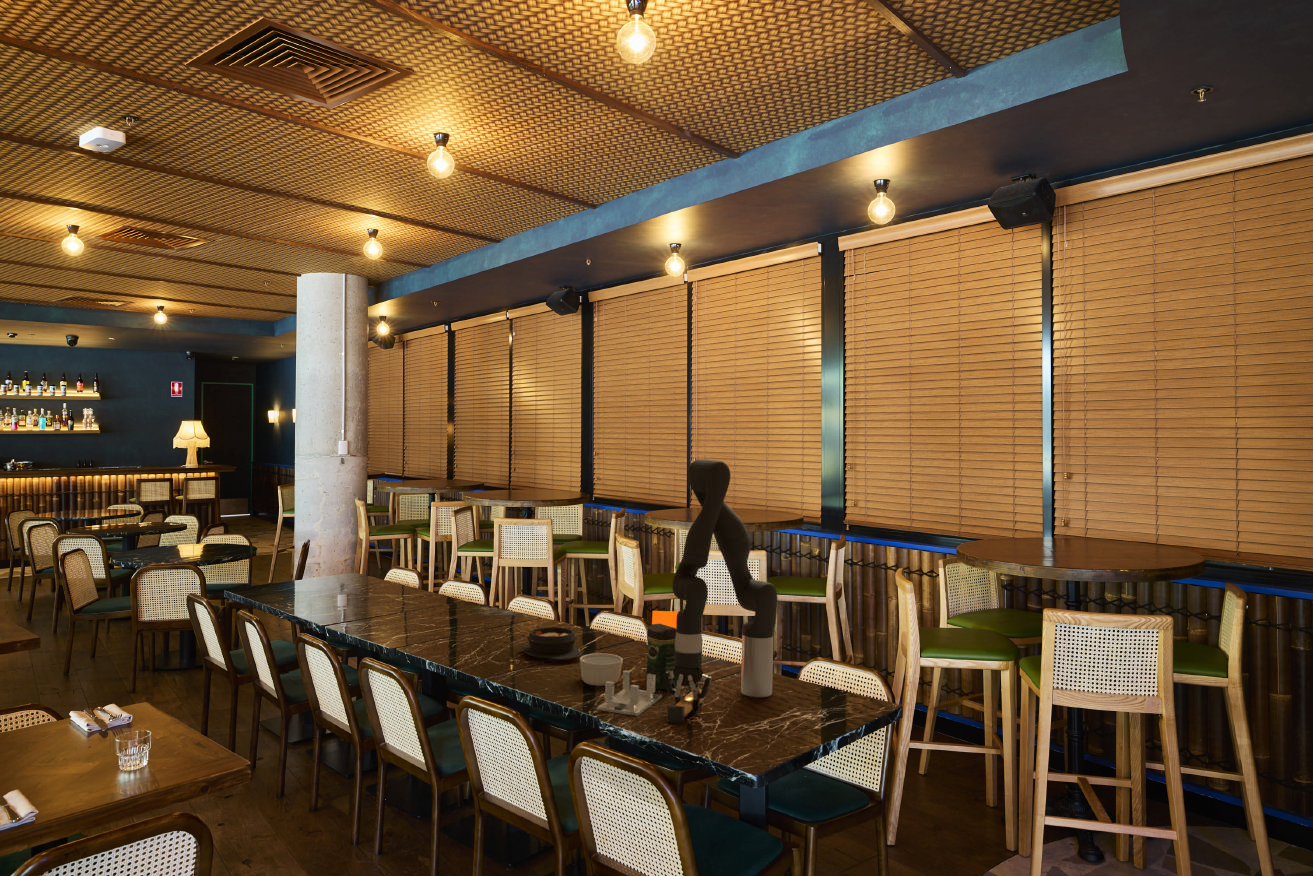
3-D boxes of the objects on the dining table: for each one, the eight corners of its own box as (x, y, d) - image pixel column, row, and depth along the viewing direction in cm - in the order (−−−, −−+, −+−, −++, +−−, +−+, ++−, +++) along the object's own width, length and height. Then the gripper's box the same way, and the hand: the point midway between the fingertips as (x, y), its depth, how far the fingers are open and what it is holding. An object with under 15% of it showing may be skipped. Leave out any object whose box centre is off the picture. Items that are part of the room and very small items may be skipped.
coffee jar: (681, 688, 238) (683, 626, 238) (660, 692, 233) (662, 629, 233) (662, 680, 246) (663, 620, 246) (641, 684, 241) (642, 623, 241)
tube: (690, 701, 225) (691, 687, 225) (704, 703, 224) (705, 689, 224) (667, 722, 208) (667, 706, 208) (682, 724, 206) (682, 708, 206)
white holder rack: (624, 691, 233) (624, 667, 233) (661, 697, 229) (662, 673, 229) (597, 709, 216) (597, 684, 217) (637, 716, 212) (637, 689, 212)
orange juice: (678, 677, 249) (679, 614, 249) (650, 676, 249) (651, 613, 250) (678, 670, 257) (680, 609, 257) (651, 669, 257) (653, 608, 258)
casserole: (508, 653, 274) (509, 628, 275) (552, 644, 287) (552, 621, 287) (550, 668, 256) (551, 642, 256) (595, 659, 269) (596, 634, 269)
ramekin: (627, 677, 248) (628, 655, 248) (614, 689, 236) (614, 666, 236) (588, 673, 252) (588, 651, 252) (572, 684, 239) (573, 661, 239)
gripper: (717, 648, 217) (716, 710, 217) (669, 642, 223) (667, 703, 222) (709, 654, 210) (707, 719, 210) (659, 648, 216) (658, 711, 215)
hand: (687, 710), depth 216 cm, fingers closed on tube, 4 cm apart
